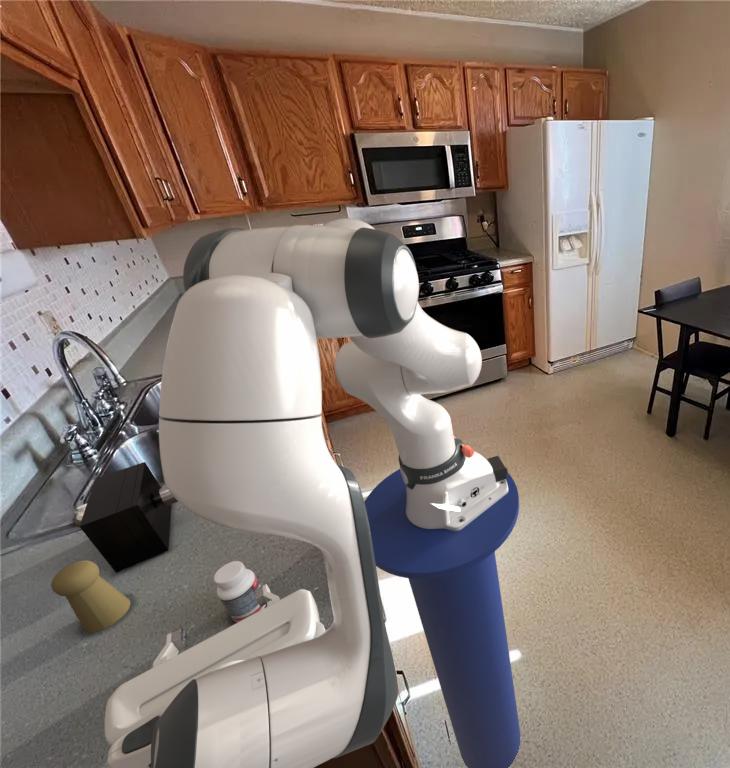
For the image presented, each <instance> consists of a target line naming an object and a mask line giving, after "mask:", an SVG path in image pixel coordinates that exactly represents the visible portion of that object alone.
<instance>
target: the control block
mask: <svg viewBox="0 0 730 768" xmlns="http://www.w3.org/2000/svg"><path fill="white" fill-rule="evenodd" d="M160 488H162V487H161V485H160V483H159V482H158V480H157V478H156V477H155V476H154V474H153V472H152V470H151V468H150V467H149V466H148V464H147V462H146V461H143V462H140V463H138V464H134V465H132V466H128V467H125V468H123V469H119V470H116V471H113V472H110V473H107V474H104V475H102V476H99V477H96V478H95V479H94V482H93V485H92V488H91V490H90V494H89V497H88V500H87V503H86V504H87V505H86V508H85V511H84V514H83V517H82V520H81V523H80V526H78V527H79V528H80V530H81V531H82V532H83V534H84V535H85V536H86V537H87V539H89V541H90V542H91V543H92V545H93V546H94V547H95V548H96V550H97V551H98V553H100V555H101V556H102V557H103V559H104V560H105V561H106V562H107V563H108V565H109V566H110V567H111V569H112V570H113V571H114V572H115V574H117V573H119V572H122V571H124V570H126V569H130V568H132V567H133V566H136V565H138V564H140V563H143V562H145V561H148V560H149V559H153V558H156V557H158V556H160V555H162V554H164V553H166V552H168V551H169V550H170V548H169V547H170V534H171V521H172V520H171V519H172V505H173V504H171V505H168V506H166V505H165V504H164V503H163V501H162V502H159V503H157V504H153V503H152V501H151V500H150V499H151V498H153V497H156V496H158V495H160V494H159V489H160Z"/></svg>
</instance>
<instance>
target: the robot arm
mask: <svg viewBox="0 0 730 768" xmlns="http://www.w3.org/2000/svg"><path fill="white" fill-rule="evenodd" d="M412 253H413V252H412V251H411V250H410V248H409V247H408V246H407V245H406V244H405V243H404V242H403V241H402V240H401V239H399V238H398V237H397V236H396V235H395V234H393V233H390V232H387V231H383V230H380V229H376V228H375V227H374V226H372V225H371V224H369V223H367V222H365V221H363V220H361V219H356V218H350V217H349V218H348V217H345V218H337V219H334V220H331V221H328V222H326V223H324V224H323V225H316V224H295V225H292V226H290V225H289V226H273V227H272V226H271V227H259V228H251V229H245V228H242V227H232V228H226V229H222V230H221V229H220V230H217V231H213V232H210V233H207V234H205V235H202V236H201V237H199V238H198V239H197V240H196V241H195V242H194V244H192V246H191V248H190V250H189V251H188V253H187V256H186V258H185V261H184V264H183V271H182V281H183V282H182V283H183V289H184V293H183V294H182V295H181V297H180V298H179V300H178V303H177V305H176V308H175V311H174V315H173V319H172V321H171V322H172V323H171V326H170V330H169V334H168V338H167V343H166V348H165V353H164V359H163V360H164V361H163V364H162V365H163V366H162V371H161V380H160V389H159V407H158V416H159V417H158V444H159V445H158V446H159V457H160V458H159V459H160V465H161V470H162V476H163V481H164V485H165V486H166V487H167V488H168V490H169V491H170V493H171V494H172V495H173V496H174V497H175V499H176V500H177V501H178V502H177V503H179V504H180V505H181V506H183V508H185V509H187V510H188V511H189V512H191V513H193V515H196V516H198V517H199V518H202V519H204V520H206V521H209V522H211V523H213V524H216V525H219V526H222V527H224V528H229V529H233V530H237V531H241V532H248V533H256V534H262V535H268V536H269V535H270V536H277V537H282V538H287V539H292V540H297V541H300V542H303V543H305V544H306V543H307V544H309V545H311V546H314V547H316V548H317V549H318V550H319V551H321V553H322V557H323V564H324V568H325V574H326V575H325V576H326V580H327V585H328V587H327V588H328V592H329V598H330V603H331V604H330V605H331V610H332V615H333V622H332V623H331V625H330V626H329V627H328V628H326V625H325V624H324V623H322V621H321V622H320V615H319V608H318V606H317V602H316V600H315V598H314V596H313V594H312V592H311V590H307V589H303V588H300V589H298V590H296V591H293V592H291V593H290V594H288V595H287V596H285V597H283V598H280V597H279V596H278V595H276V594H275V593H272V592H271V590H270V587H269V585H268V584H267V583H266V584H263V585H261V587H259V588H258V589H256V590H254V593H255V599H256V601H257V602H258V604H259V606H260V607H261V606H263V605H265V604H266V606H265V607H264V609H262V610H260V611H258V612H257V613H255V614H253V615H251V616H249V617H247V618H245V619H243V620H242V621H240V622H235V623H234V624H232V625H230V626H229V627H226V628H225V629H223V630H221V631H219V632H218V633H215V634H214V635H211V636H210V637H207V638H206V639H204V640H202V641H200V642H199V643H197V644H195V645H193V646H191V647H189V648H187V649H186V650H184V651H182V652H180V651H181V650H182V649H184V648H186V647H188V634H187V632H186V631H185V630H184V628H183V627H179V628H177V629H175V630H173V631H171V632H169V633H167V634H166V637H165V645H164V646H163V648H162V649H161V650H160V651H159V653H158V654H157V656H156V658H155V659H154V660H153V662H152V667H151V668H150V669H148V670H146V671H144V672H142V673H141V674H139V675H137V676H135V677H133V678H131V679H129V680H128V681H126V682H124V683H122V684H120V685H119V686H117V688H116V689H115V690H114V691H113V692H112V694H111V695H110V696H109V698H108V699H107V700H106V701H107V702H106V705H105V711H104V738H105V740H106V743H108V744H109V745H110V747H109V750H108V753H107V761H106V762H107V764H108V765H109V767H110V768H316V767H317V766H319V765H322V764H323V763H325V762H328V761H330V760H332V759H337V758H340V757H342V756H344V755H346V754H350V753H352V752H355V751H357V750H359V749H362V748H364V747H366V746H367V747H368V746H369V745H372V744H373V743H375V742H376V740H377V739H378V738H379V736H380V734H381V733H382V731H383V730H384V728H385V726H386V724H387V722H388V721H389V718H390V717H391V715H392V712H393V710H394V709H395V705H396V703H397V700H398V696H399V694H398V693H399V686H398V684H399V683H398V673H397V668H396V662H395V659H394V655H393V652H392V648H391V643H390V639H389V635H388V630H387V626H386V622H385V616H384V609H383V604H382V603H383V602H382V597H381V591H380V583H379V577H378V570H377V566H376V563H375V557H374V550H373V544H372V538H371V532H370V527H369V521H368V516H367V511H366V507H365V503H364V502H365V499H364V495H363V492H362V490H361V487H360V484H359V482H358V480H357V478H356V476H355V475H354V473H353V471H352V470H351V469H349V468H347V467H344V466H342V465H341V464H337V463H336V461H335V460H334V458H333V457H332V454H331V452H330V451H329V448H328V446H327V443H326V439H325V436H324V432H323V421H322V420H323V415H322V413H323V389H322V371H321V370H322V369H321V360H320V351H319V344H318V339H343V338H345V339H346V338H349V339H350V340H351V341H349V342H345V343H344V344H343V345H341V347H340V348H339V349H338V351H337V354H336V356H335V358H334V365H333V369H334V375H335V379H336V381H337V383H338V385H339V386H340V388H341V389H342V390H343V391H344V392H345V393H346V394H348V395H350V396H352V397H354V398H357V399H359V400H360V401H362V402H364V403H365V404H367V405H368V406H370V407H371V408H372V409H373V410H375V411H376V413H377V414H379V415H380V416H381V418H382V419H383V420H384V421H385V423H386V424H387V425H388V427H389V429H390V431H391V433H392V437H393V439H394V442H395V445H396V448H397V451H398V457H397V458H398V464H399V469H400V471H401V475H402V478H403V481H404V483H405V484H406V493H407V503H406V515H407V518H408V519H409V521H410V522H411V523H413V524H414V525H416V526H418V527H421V528H425V529H447V530H451V531H459V530H461V529H463V528H464V527H465V526H466V525H468V524H469V523H470V522H471V521H473V520H474V519H475V518H477V517H478V516H479V515H480V514H482V513H483V512H484V511H485V510H487V509H488V508H489V507H491V506H492V505H493V504H494V503H496V502H497V501H498V500H499V499H501V498H502V497H503V496H504V495H506V494H507V493H508V485H507V481H506V479H507V472H508V468H507V467H506V466H505V464H504V462H503V461H502V460H501V458H500V456H499V455H495V456H492V457H489V458H486V457H485V456H483V455H482V454H481V453H479V452H478V451H475V450H474V449H473V448H472V447H471V446H470V445H469V444H464V442H463V441H462V440H461V439H460V438H458V437H456V436H455V435H454V430H453V424H452V418H451V416H450V414H449V412H448V411H447V409H446V408H444V406H443V405H441V404H440V403H438V402H436V401H434V400H431V399H429V398H426V397H424V396H423V395H428V394H429V395H431V394H444V393H449V392H453V391H457V390H461V389H465V388H469V387H471V386H473V385H474V383H475V382H476V381H477V379H478V378H479V376H480V373H481V371H482V364H483V357H482V356H483V355H482V352H481V349H480V347H479V345H478V343H477V341H476V340H475V339H474V337H472V336H471V335H470V334H468V333H467V332H464V331H459V330H457V329H454V328H451V327H448V326H446V325H444V324H442V323H440V322H439V321H437V320H436V319H434V318H433V317H431V316H430V315H428V313H426V312H425V311H424V310H423V309H422V307H421V305H420V303H419V301H418V299H419V295H420V282H419V281H420V280H419V275H418V271H417V266H416V261H415V259H414V256H413V254H412ZM485 458H486V459H488V461H487V460H486V459H485ZM508 473H509V472H508ZM502 483H503V484H502ZM461 521H462V522H461Z"/></svg>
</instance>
